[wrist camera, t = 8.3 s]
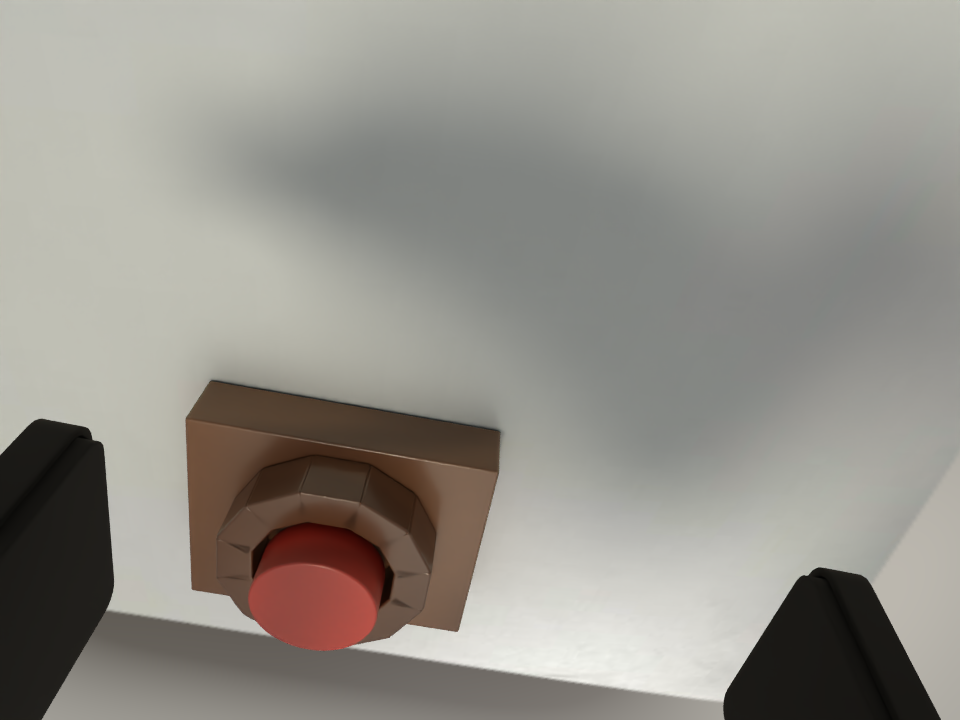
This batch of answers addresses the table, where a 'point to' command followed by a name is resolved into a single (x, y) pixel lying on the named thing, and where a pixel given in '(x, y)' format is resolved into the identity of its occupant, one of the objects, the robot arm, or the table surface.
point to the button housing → (339, 495)
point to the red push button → (318, 587)
